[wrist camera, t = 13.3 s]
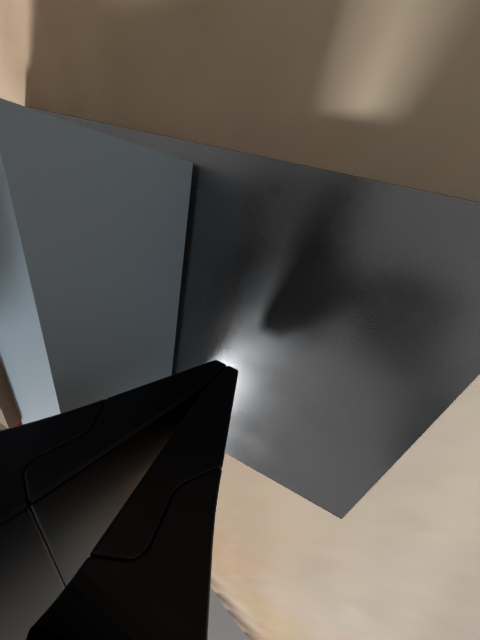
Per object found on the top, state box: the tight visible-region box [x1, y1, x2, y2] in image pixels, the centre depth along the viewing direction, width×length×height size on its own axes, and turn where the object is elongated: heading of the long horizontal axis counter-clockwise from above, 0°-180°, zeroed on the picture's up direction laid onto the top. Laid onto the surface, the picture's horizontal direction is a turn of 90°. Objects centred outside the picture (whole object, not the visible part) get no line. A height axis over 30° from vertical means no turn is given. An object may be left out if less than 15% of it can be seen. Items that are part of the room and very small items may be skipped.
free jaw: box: [0, 98, 193, 424], centre depth 8 cm, size 2×11×4 cm, turn 169°
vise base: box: [28, 107, 480, 519], centre depth 8 cm, size 18×12×6 cm, turn 79°
